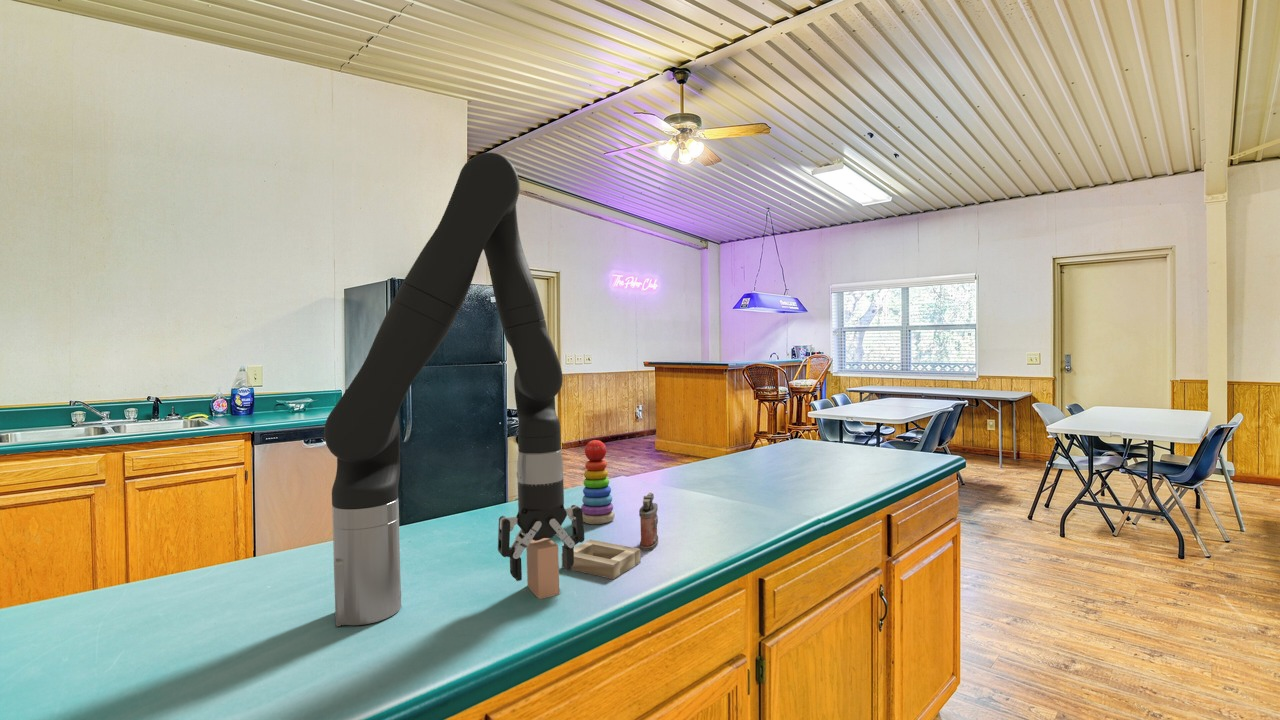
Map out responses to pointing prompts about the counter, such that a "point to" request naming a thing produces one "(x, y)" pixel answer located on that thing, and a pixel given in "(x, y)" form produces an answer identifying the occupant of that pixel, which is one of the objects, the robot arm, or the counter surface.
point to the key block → (543, 568)
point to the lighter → (648, 523)
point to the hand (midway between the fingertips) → (543, 573)
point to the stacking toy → (596, 486)
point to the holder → (604, 558)
